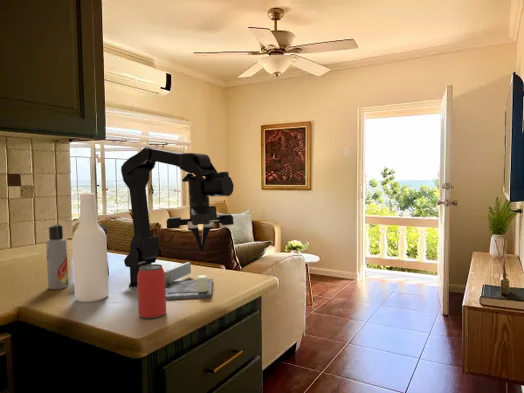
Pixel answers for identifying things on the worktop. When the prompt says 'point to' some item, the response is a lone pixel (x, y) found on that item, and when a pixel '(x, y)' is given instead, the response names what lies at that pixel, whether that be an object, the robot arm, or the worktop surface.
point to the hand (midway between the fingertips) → (201, 250)
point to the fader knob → (202, 283)
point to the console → (187, 290)
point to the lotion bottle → (57, 258)
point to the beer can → (151, 291)
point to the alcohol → (89, 254)
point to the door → (177, 272)
